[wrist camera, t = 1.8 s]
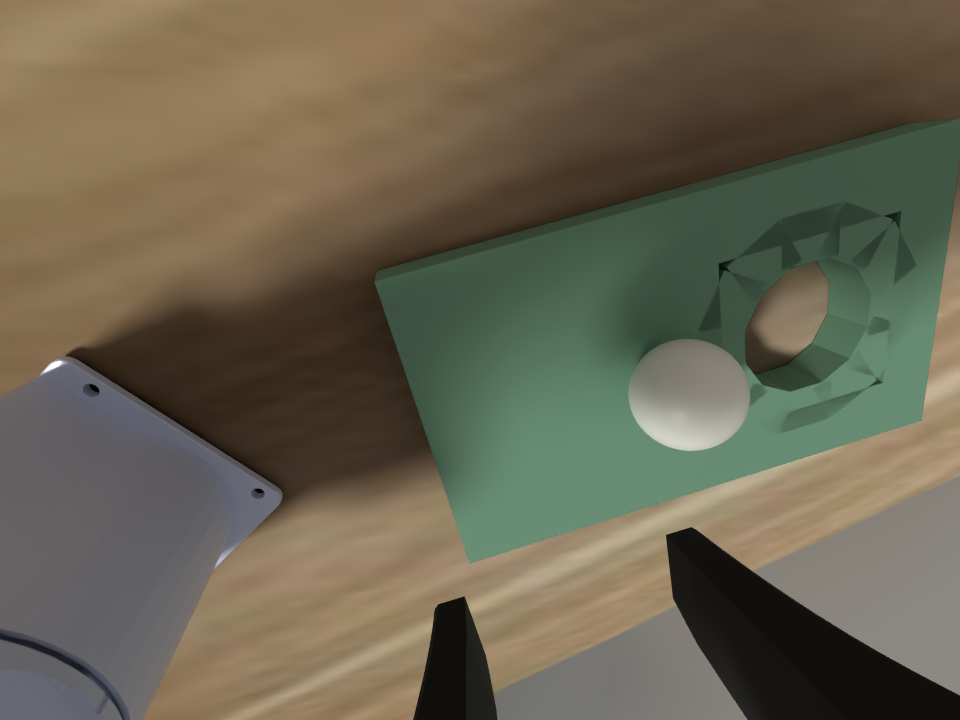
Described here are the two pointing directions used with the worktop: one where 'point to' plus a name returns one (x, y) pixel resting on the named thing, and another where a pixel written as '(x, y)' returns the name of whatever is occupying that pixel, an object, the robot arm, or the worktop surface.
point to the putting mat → (672, 331)
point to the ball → (689, 394)
